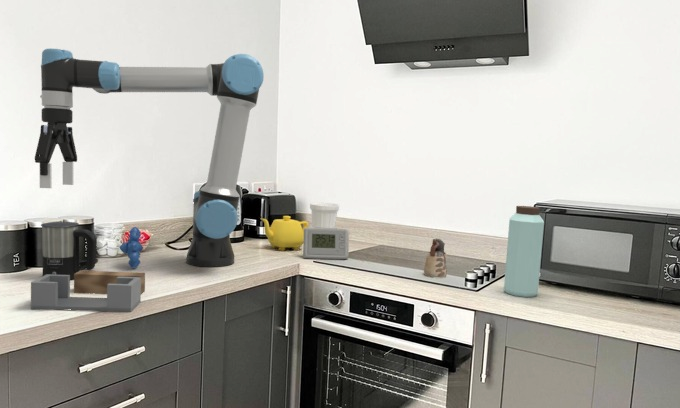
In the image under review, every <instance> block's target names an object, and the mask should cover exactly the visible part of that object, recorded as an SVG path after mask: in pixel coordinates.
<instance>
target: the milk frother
mask: <svg viewBox="0 0 680 408" xmlns="http://www.w3.org/2000/svg"><path fill="white" fill-rule="evenodd" d="M79 225H80V223H78V222H73V221H54V222H53V221H51V222H45V223H41V224H40V226H41V229H42V230H41V231H42V232H41V233H42V234H41V235H42V238H41V240H42V241H41V242H42V273H41V274H42V275H41V277H43V276H44V275H46V274H52V275H70V281H71V280H74V274H75V273H77V272H79V271H80V270H81V271H85V270H86V271H92V269H95V266H96V264H97V263H98V262H99V259H98V258H97V243H98V242H97V241H98V239H97V236H96V235H95V234H94V232H93V231H91V230H89V229H87V228H86V229H85V228H79V227H78V226H79ZM80 238H84V239H85V241H86V256H85V258H86V259H85V260H80Z"/></svg>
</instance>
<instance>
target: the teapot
mask: <svg viewBox="0 0 680 408" xmlns="http://www.w3.org/2000/svg"><path fill="white" fill-rule="evenodd" d="M259 218H260V217H259ZM260 220H262V221H263V223H264V233H265V236H266V238H267V240H268V242H269V244H270V245H272V246H271V248H273V249H278V251H280V252H284V251H286V248H292V250H294V251H299V250H300V248H299V247H302V246H303V243H304V229H305V228H309V222H308V221H305V220H302V221H300V220H296V219H291V216H289V215H282V218H281V219H274V220H273V222H272V223H271V225H270V224H269V221H268V220H267V219H266V218H262V217H261V218H260ZM302 225H303V226H302Z"/></svg>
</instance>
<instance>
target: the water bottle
mask: <svg viewBox="0 0 680 408" xmlns="http://www.w3.org/2000/svg"><path fill="white" fill-rule="evenodd" d="M515 209H516V210H515V213H513V215H512V216H510V218H509V223H508V235H507V248H506V259H505V268H504V269H505V271H504V284H503V285H504V286H503V290H504V291H505V293H506V294H508V295H511V296H514V297H521V298H531V297H536V295H537V294H538V293H539V284H540V283H539V282H540V272H541V262H542V261H541V260H542V249H543V238H544V227H545V226H544V225H545V222H544V219H543V218H542V217H541V215H540V207H537V206H531V205H529V206H528V205H527V206H526V205H516V207H515Z"/></svg>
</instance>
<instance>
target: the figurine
mask: <svg viewBox="0 0 680 408" xmlns="http://www.w3.org/2000/svg"><path fill="white" fill-rule="evenodd" d="M446 254H447V253H446V251H445V242H444V241H443V240H442V238H433V239H432V244H431V246H430V251H429V252H428V254H427V256H426V259H425V263H424V268H423V274H424V276H426V277H428V276H430V277H429V278H433V277H444V278H446V277H447V271H448V269H447V260H446Z"/></svg>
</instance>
